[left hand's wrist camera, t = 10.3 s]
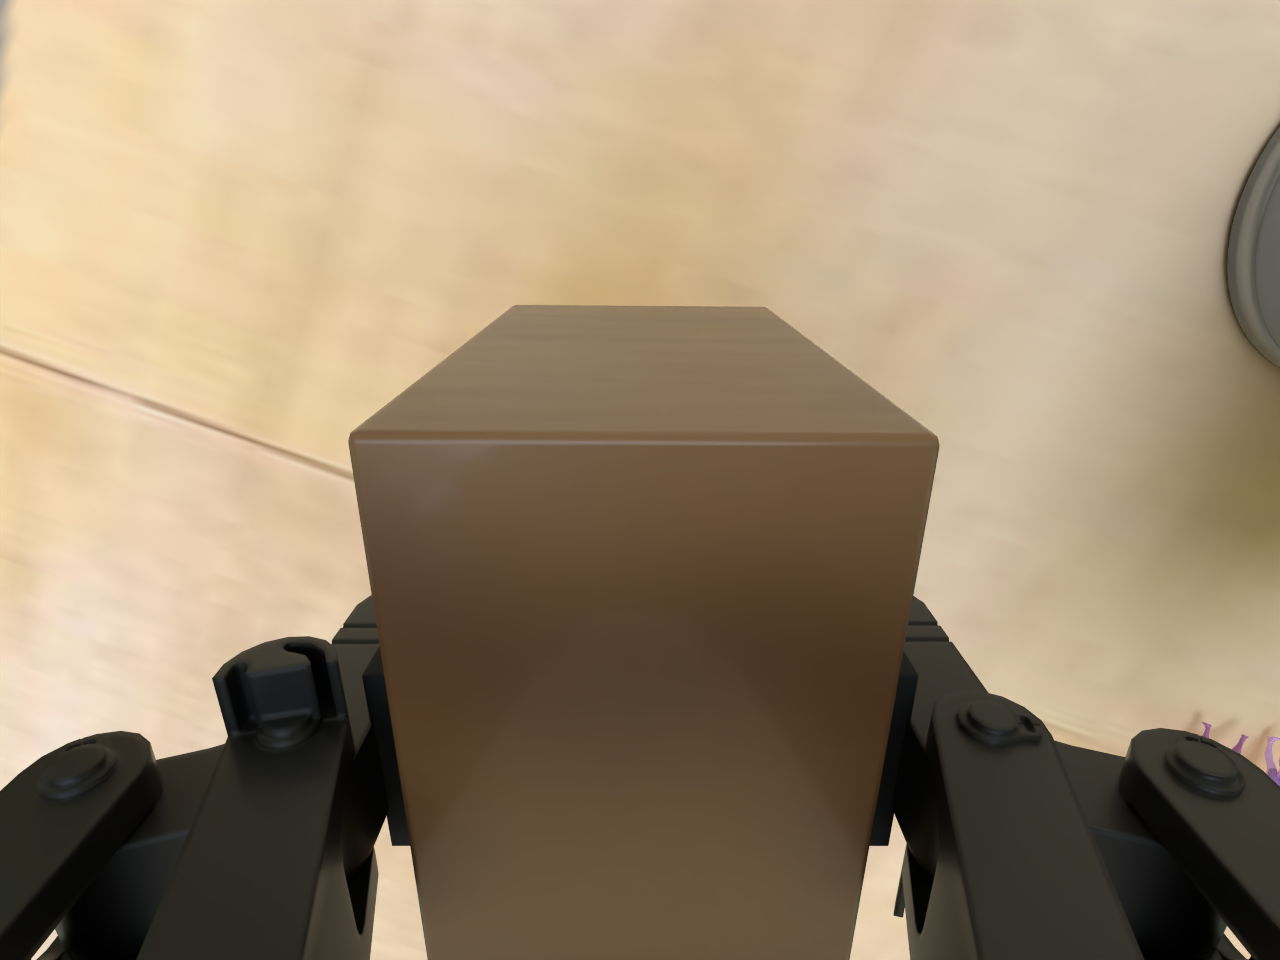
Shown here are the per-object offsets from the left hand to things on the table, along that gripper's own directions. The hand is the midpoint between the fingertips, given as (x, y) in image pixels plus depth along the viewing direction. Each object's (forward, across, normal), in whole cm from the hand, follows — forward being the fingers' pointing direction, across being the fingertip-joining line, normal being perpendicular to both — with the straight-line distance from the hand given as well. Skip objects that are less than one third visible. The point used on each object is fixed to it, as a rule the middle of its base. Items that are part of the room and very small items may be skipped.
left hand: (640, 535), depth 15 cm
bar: (+1, 0, -27) cm, 27 cm away
